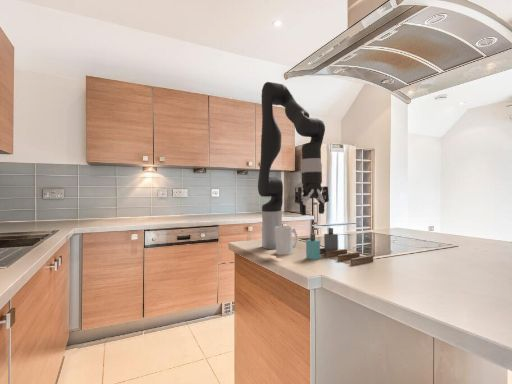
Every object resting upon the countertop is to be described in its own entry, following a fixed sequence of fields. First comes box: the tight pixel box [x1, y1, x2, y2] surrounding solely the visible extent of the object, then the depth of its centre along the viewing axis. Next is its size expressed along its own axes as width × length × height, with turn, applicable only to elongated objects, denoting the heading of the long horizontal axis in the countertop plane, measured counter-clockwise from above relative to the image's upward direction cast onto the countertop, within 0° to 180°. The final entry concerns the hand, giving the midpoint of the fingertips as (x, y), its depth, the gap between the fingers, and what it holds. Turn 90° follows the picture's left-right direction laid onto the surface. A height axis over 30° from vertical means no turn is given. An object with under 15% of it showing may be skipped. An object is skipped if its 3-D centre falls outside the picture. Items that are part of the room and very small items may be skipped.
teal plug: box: [305, 233, 321, 261], centre depth 106 cm, size 4×4×10 cm
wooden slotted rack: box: [320, 247, 374, 266], centre depth 107 cm, size 20×10×3 cm, turn 28°
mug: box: [275, 225, 298, 256], centre depth 116 cm, size 10×7×12 cm, turn 116°
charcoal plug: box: [323, 227, 339, 254], centre depth 112 cm, size 4×4×10 cm
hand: (312, 214), depth 106 cm, fingers open, 8 cm apart
